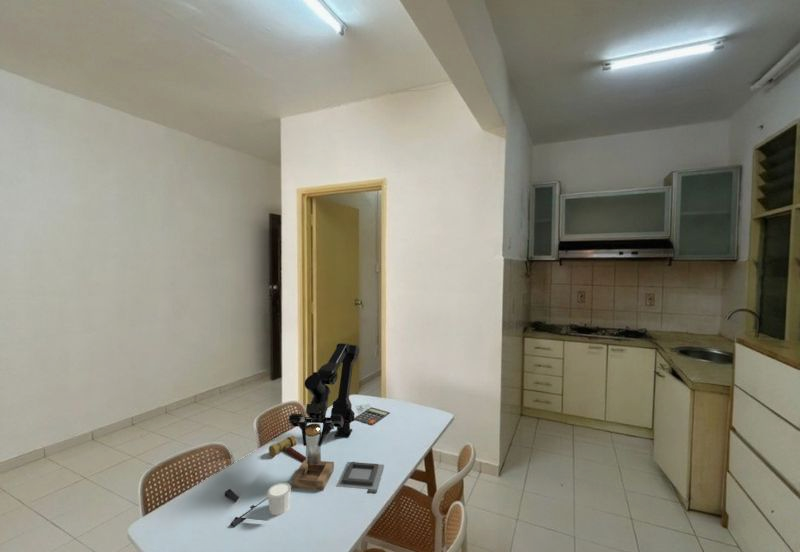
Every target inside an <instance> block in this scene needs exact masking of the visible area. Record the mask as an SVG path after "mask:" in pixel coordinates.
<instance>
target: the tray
mask: <svg viewBox="0 0 800 552" xmlns="http://www.w3.org/2000/svg"><path fill="white" fill-rule="evenodd" d="M384 469H385V464H382V463H371V462H370V463H369V462H356V461H347V463H346V464H345V466H344V468H343V471H342V472H341V475H340V477H339V478H338V479H339V480H338V481H337V483H336V485H335V487H337V488H338V487H340V488H350V489H353V488H354V489H360V490H367V491H366V492H367V493H375V492H377V493H378V490H379V487H380V484H381V480H382V477H381V476H383V473H384ZM379 483H380V484H379Z"/></svg>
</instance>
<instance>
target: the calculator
mask: <svg viewBox="0 0 800 552" xmlns="http://www.w3.org/2000/svg"><path fill="white" fill-rule="evenodd" d="M390 414H391V412H389V411H386V410H383V409H382V410H381V409H379V408H375V407H370V408H368V409H366V410H364V411H363V412H361V413H360V414H358V415H356V416H354V421H357V422H360V423H363V424H367V425H369V426H374V425H375V424H377V423H378V422H380V421H381V420H383V419H384V418H385V417H388V415H390Z"/></svg>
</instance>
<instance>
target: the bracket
mask: <svg viewBox="0 0 800 552" xmlns="http://www.w3.org/2000/svg"><path fill="white" fill-rule="evenodd" d="M224 497H226V498H227V499H229V500H231V502H234V503H237V501H238V500H239V499H240V496H238V495H237V494H236V493H235V492H234V491H233V490H232V489H231V488H229V489H227V490H226V491H224ZM266 500H268V497H266V498H265V499H264V500H262V501H260V502H259V503H258V504H256V505H254V504H253V505H251V506H249V508H250V509H249V510H247V511H246V512H245V513H243V514H241V515H240V516H235V517H234V518H233V519H232V521H231V523H230V526H233V528H235V527H237V526H238V525H240V524H241V523H242V522H244V521H246V520H247V518H246V517H244V516H246V515H247V514H248V513H250V512H252V510H253V509H255V508H257V506H260V505H261V504H262V503H263V502H265V501H266Z"/></svg>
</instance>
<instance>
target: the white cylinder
mask: <svg viewBox="0 0 800 552" xmlns="http://www.w3.org/2000/svg"><path fill="white" fill-rule="evenodd" d="M291 491H292V485H291V484H290V483H288V482H278V483H276V484H273V485H271V486H270V487H269V488H268V489H267V501H268V502H267V503H268V509H269V512H270V514H271V515H273V516H282V515H283V514H285V513H287V512H288V510H290V505H291V504H290V503H291Z"/></svg>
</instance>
